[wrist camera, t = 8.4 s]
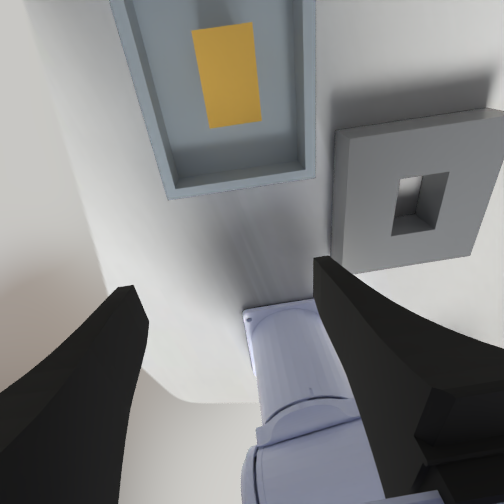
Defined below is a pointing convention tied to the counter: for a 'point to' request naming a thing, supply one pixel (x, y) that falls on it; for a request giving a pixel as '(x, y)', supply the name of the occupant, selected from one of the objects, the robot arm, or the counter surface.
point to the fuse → (228, 74)
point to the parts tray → (192, 100)
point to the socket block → (431, 192)
